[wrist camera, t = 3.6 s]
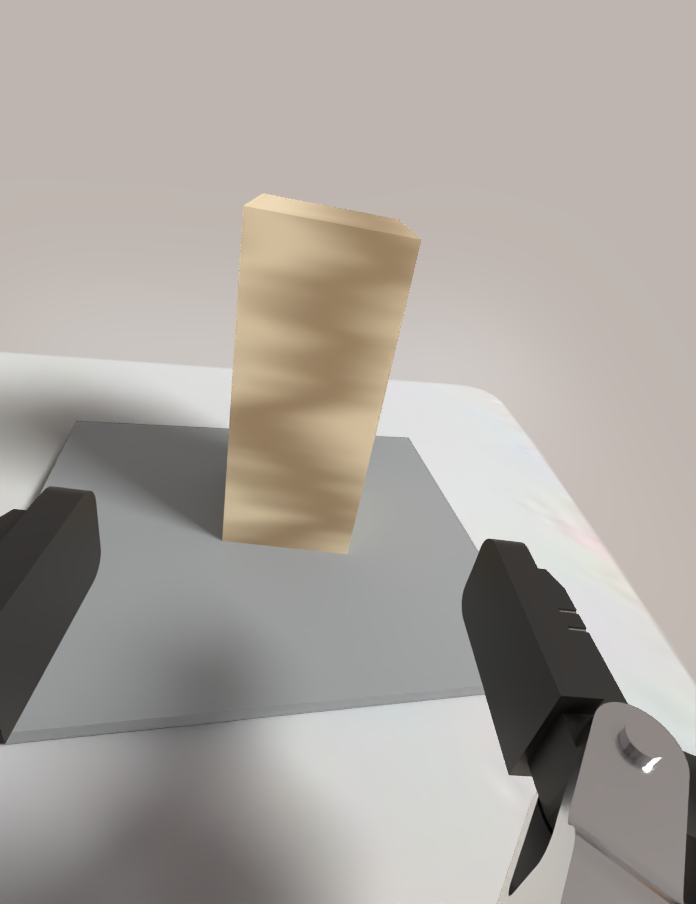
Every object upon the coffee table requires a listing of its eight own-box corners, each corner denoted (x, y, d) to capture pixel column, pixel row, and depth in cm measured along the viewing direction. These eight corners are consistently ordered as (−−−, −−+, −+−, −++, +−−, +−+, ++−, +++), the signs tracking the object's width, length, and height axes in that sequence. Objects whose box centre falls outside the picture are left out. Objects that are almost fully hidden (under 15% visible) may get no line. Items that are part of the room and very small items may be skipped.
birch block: (221, 540, 19) (243, 206, 13) (240, 471, 24) (263, 193, 18) (347, 554, 20) (421, 239, 14) (343, 483, 24) (399, 219, 18)
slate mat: (-81, 752, 12) (-86, 742, 12) (77, 429, 25) (76, 421, 25) (550, 687, 17) (556, 678, 17) (406, 444, 30) (408, 437, 30)
